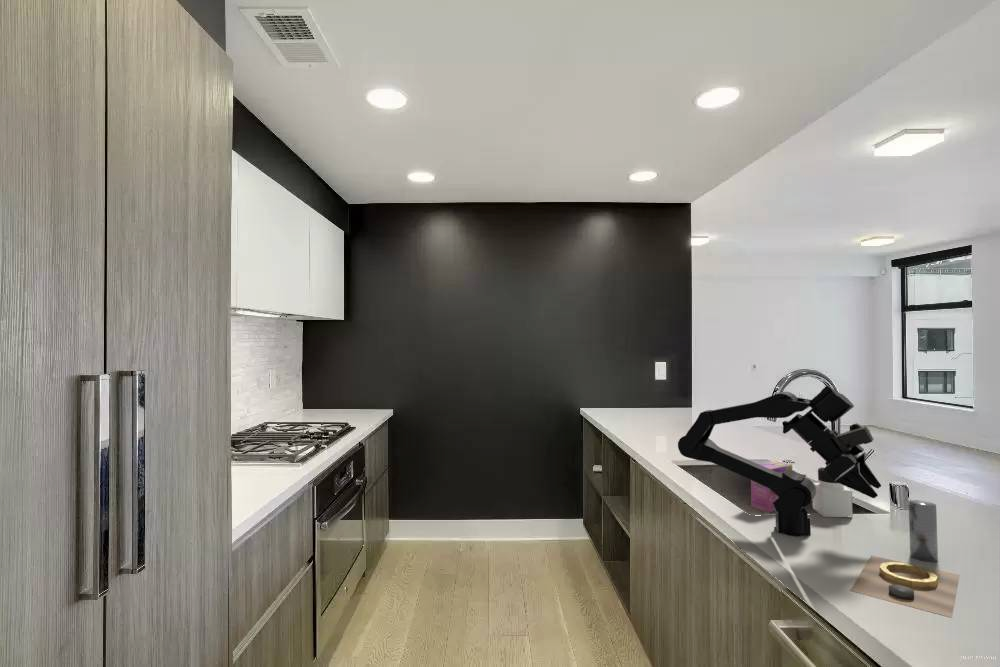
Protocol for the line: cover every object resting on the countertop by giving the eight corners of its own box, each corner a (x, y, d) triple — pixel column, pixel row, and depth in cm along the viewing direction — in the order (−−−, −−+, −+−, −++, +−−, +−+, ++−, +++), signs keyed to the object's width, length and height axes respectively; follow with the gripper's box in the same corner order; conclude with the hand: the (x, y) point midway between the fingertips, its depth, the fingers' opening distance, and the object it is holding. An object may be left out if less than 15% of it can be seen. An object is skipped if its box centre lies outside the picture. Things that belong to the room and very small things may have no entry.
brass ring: (891, 585, 97) (891, 578, 97) (873, 566, 105) (873, 560, 105) (946, 591, 94) (946, 584, 94) (923, 571, 102) (923, 564, 102)
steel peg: (916, 564, 107) (914, 505, 107) (906, 556, 111) (904, 499, 112) (942, 567, 106) (940, 507, 106) (931, 558, 110) (929, 500, 110)
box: (769, 513, 140) (768, 468, 140) (750, 507, 145) (749, 464, 146) (794, 506, 145) (792, 464, 145) (774, 501, 150) (773, 460, 150)
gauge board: (951, 622, 85) (951, 611, 85) (850, 594, 95) (849, 584, 95) (959, 579, 100) (959, 569, 100) (871, 559, 110) (870, 550, 110)
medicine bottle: (853, 518, 135) (852, 471, 135) (822, 517, 136) (821, 470, 137) (841, 509, 142) (839, 465, 142) (812, 508, 143) (811, 464, 144)
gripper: (840, 418, 110) (908, 478, 103) (851, 408, 124) (912, 461, 117) (799, 451, 115) (861, 511, 108) (814, 438, 129) (870, 490, 122)
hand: (877, 491), depth 114 cm, fingers open, 9 cm apart
